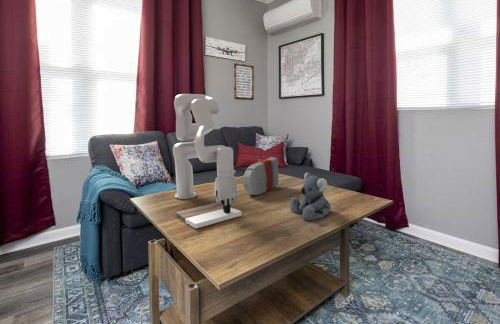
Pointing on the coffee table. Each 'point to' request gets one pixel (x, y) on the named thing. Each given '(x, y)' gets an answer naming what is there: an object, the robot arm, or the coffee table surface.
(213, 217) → the off-white plank
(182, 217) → the walnut plank
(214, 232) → the coffee table surface
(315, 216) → the koala plush
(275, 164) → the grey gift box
